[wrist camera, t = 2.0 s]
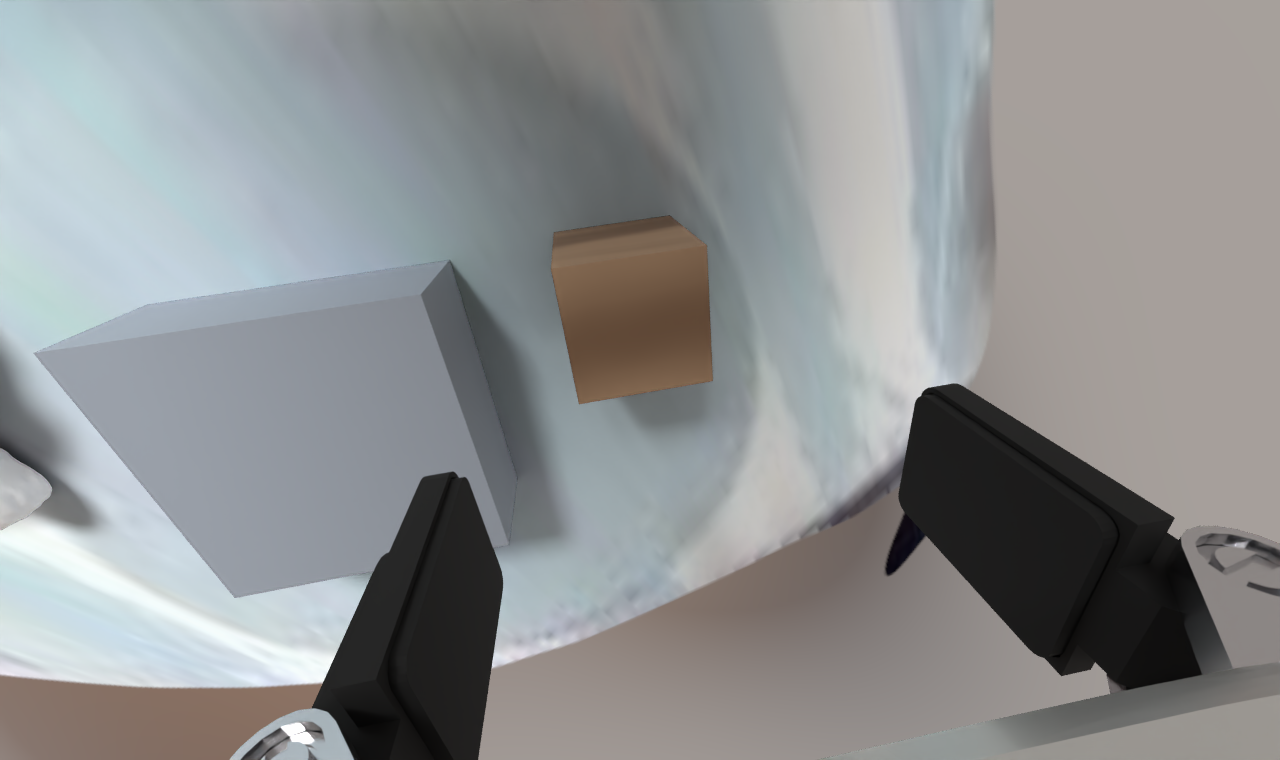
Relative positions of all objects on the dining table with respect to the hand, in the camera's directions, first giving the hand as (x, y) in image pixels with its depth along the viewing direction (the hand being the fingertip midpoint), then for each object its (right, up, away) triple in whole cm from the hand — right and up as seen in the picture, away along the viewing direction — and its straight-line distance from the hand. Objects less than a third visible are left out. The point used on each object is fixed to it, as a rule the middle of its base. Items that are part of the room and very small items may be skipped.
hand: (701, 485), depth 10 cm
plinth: (-15, +1, +13) cm, 19 cm away
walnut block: (-2, +7, +11) cm, 13 cm away
